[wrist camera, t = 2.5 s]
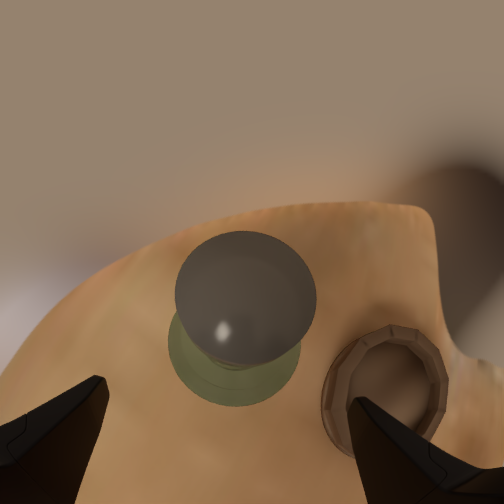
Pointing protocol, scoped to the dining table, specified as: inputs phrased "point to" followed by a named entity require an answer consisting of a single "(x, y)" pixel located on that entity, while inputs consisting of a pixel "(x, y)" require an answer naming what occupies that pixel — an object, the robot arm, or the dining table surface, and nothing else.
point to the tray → (386, 382)
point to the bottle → (240, 317)
